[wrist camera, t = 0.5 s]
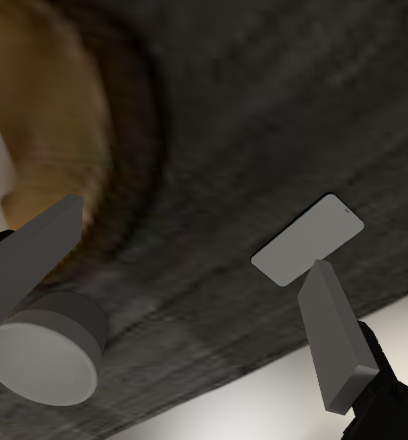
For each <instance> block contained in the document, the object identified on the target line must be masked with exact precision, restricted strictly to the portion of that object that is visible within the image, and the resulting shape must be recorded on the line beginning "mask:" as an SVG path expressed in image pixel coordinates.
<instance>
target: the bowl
mask: <svg viewBox="0 0 408 440" xmlns="http://www.w3.org/2000/svg"><path fill="white" fill-rule="evenodd" d="M107 332H108V323H107V319H106V317H105V315H104V313H103V312H102V310H101V309H100V308H99V307H98V306H97V305H96V304H95V303H94V302H92V301H91V300H90V299H88V298H86V297H84V296H82V295H79V294H77V293H73V292H69V291H56V292H52V293H49V294H47V295H46V296H44V297H42V298H41V299H39V300H38V301H36V302H35V303H33V304H32V305H30V306H28V307H27V308H25V309H24V310H22V311H21V312H19V313H17V314H16V315H14V316H12V317H11V318H9V319H8V320H6V321H5V322H3V323H1V324H0V382H1V383H2V384H4V385H5V386H6V387H8V388H9V389H11V390H12V391H14V392H15V393H17V394H19V395H21V396H23V397H25V398H27V399H30V400H33V401H36V402H39V403H43V404H48V405H56V406H68V405H74V404H78V403H80V402H83V401H85V400H86V399H87V398H89V397H90V396H91V395H92V394H93V392H94V391H95V389H96V386H97V383H98V378H99V373H100V368H101V363H102V357H103V352H104V347H105V342H106V337H107Z"/></svg>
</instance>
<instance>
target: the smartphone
mask: <svg viewBox="0 0 408 440" xmlns="http://www.w3.org/2000/svg"><path fill="white" fill-rule="evenodd" d="M364 228H365V223H364V222H363V220H362V219H361V218H360V217H359V216H357V215H356V214H355V213H354V212H353V211H352V210H351V209H350V208H349V207H348V206H347V205H346V204H345V203H344V202H343V201H342V200H341V199H340V198H339V197H338V196H337V195H336V194H335V193H333V192H327V193H325V194H324V195H322V196H321V197H320V198H319V199H318V200H317V201H315V202H314V203H313V204H312V205H311V206H309V207H308V208H307V209H305V210H304V211H303V212H302V213H301V214H300V215H298V216H297V217H296V218H294V219H293V221H292V222H291V223H289V224H288V225H287V226H286V227H285V228H284V229H282V230H281V231H280V232H279V233H278V234H277V235H275V236H274V237H273V238H272V239H271V240H269V241H268V242H267V243H266V244H265V245H264V246H262V247H261V248H260V249H259V250H258V251H256V252H255V253H254V254H253V255H252V256H251V258H250V262H251V264H252V265H253V266H255V267H256V268H257V269H258V270H260V271H261V272H262V273H263V274H264V275H266V276H267V277H268V278H269V279H271V280H272V281H273V282H274V283H275V284H277V285H278V286H280V287H286V286H287V285H289V284H290V283H292V282H293V281H294V280H296V279H297V278H298V277H300V276H301V275H303V274H304V273H305V272H307V271H308V270H309V269H311V268H312V266H313V264H314V262H315V260H316V259H319V260H323V259H324V258H326V257H327V256H328V255H330V254H331V253H333V252H334V251H335V250H337V249H338V248H339V247H341V246H342V245H344V244H345V243H346V242H348V241H349V240H350V239H352V238H353V237H354V236H356V235H357V234H359V233H360V232H361V231H362V230H364Z"/></svg>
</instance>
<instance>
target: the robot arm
mask: <svg viewBox="0 0 408 440" xmlns="http://www.w3.org/2000/svg"><path fill="white" fill-rule="evenodd" d="M82 207H83V197H80V196H76V195H72V194H68V195H67V196H65V197H64V198H63V199H61V200H60V201H58V202H57V203H55V204H54V205H53V206H51V207H50V208H48V209H47V210H45V211H44V212H43V213H41V214H40V215H38V216H37V217H35V218H34V219H32V220H31V221H30V222H28V223H27V224H25V225H24V226H22V227H21V228H20V229H18V230H17V231H13V230H9V229H8V230H5V231H2V232H0V322H1V321H2V320H3V319H4V318H5V317H6V316H7V315H8V314H9V313H10V312H11V311H12V310H13V309H14V308H15V307H16V306H17V305H18V304H19V303H20V302H21V301H22V300H23V299H24V298H25V297H26V296H27V295H28V293H29V292H30V291H31V290H32V289H33V288H34V287H35V286H36V285H37V284H38V283H39V282H40V281H41V280H42V279H43V278H44V277H45V276H46V275H47V274H48V273H49V272H50V271H51V270H52V269H53V268H54V267H55V266H56V265H57V264H58V263H59V262H60V261H61V260H62V259H63V257H64V256H65V255H66V254H67V253H68V252H69V251H70V250H71V249H72V248H73V247H74V246H75V245H76V244H77V243H78V242H79V241H80V240H81V228H82ZM297 297H298V301H299V305H300V309H301V313H302V317H303V321H304V325H305V329H306V333H307V337H308V341H309V345H310V349H311V353H312V357H313V362H314V366H315V370H316V374H317V378H318V382H319V386H320V390H321V394H322V398H323V402H324V406H325V410H326V411H329V412H333V413H337V414H341V415H345V414H346V413H347V412H348V410H349V409H350V408H351V407H352V408H353V411H354V414H355V418H354V419H353V421H352V422H351V423H350V424H349V426H348V427H347V428H346V429H345V431H344V432H343V434H344V435H343V437H342V438H341V440H408V386H407V385H405V384H403V383H402V382H400V381H398V380H397V378H396V376H395V374H394V372H393V370H392V368H391V366H390V364H389V362H388V360H387V358H386V356H385V354H384V352H382V348H381V346H380V344H378V340H377V338H376V336H375V334H374V332H373V331H372V330H371V329H370V328H369V327H368V326H367V325H366V323H365V322H362V321H358V320H356V318H355V316H354V314H353V312H352V309H351V307H350V305H349V303H348V301H347V299H346V296H345V294H344V292H343V290H342V288H341V286H340V283H339V281H338V279H337V277H336V275H335V273H334V270H333V268H332V266H331V264H330V262H327V261H323V260H319V259H316V260H315V262H314V264H313V266H312V268H311V270H310V272H309V274H308V276H307V278H306V280H305V282H304V284H303V286H302V288H301V290H300V292H299V294H298V296H297Z"/></svg>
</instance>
